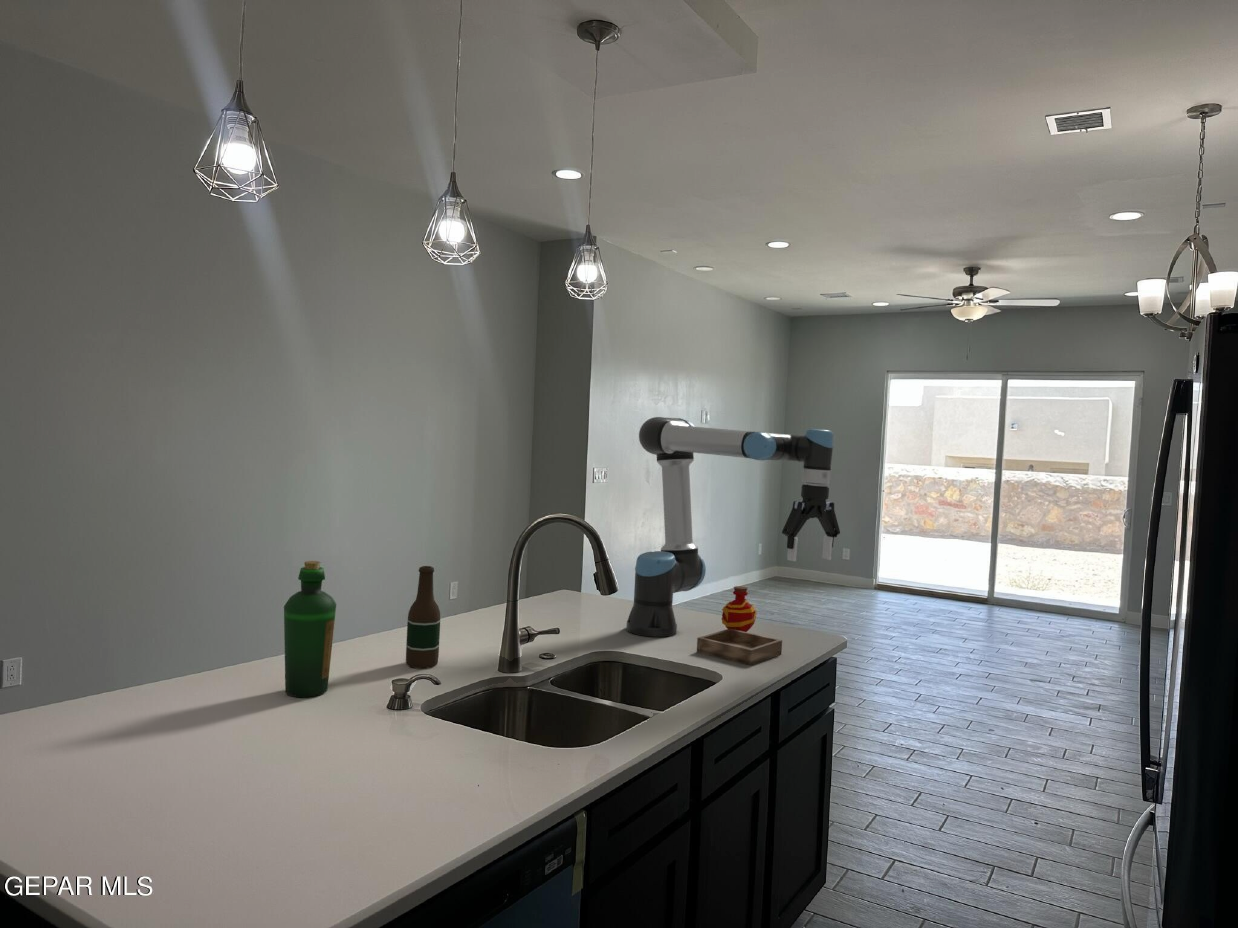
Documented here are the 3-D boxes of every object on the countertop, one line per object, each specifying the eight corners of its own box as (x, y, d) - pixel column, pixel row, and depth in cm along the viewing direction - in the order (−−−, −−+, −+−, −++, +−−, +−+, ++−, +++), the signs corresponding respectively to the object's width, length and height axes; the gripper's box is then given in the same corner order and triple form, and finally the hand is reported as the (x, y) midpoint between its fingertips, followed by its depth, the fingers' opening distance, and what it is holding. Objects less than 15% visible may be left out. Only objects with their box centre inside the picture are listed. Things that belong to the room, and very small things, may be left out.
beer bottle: (421, 658, 214) (426, 562, 213) (444, 664, 210) (449, 567, 209) (398, 664, 208) (403, 566, 207) (422, 670, 204) (427, 570, 203)
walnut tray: (696, 651, 236) (697, 637, 236) (728, 642, 249) (729, 628, 249) (750, 665, 226) (751, 650, 225) (781, 654, 239) (782, 640, 239)
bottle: (343, 691, 185) (349, 562, 184) (302, 703, 176) (308, 568, 175) (310, 681, 191) (315, 556, 190) (268, 692, 182) (274, 561, 180)
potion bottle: (757, 642, 251) (760, 591, 250) (722, 640, 251) (725, 589, 251) (752, 634, 261) (755, 585, 261) (718, 631, 262) (721, 583, 261)
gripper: (792, 485, 229) (785, 563, 231) (856, 486, 243) (850, 560, 244) (773, 482, 236) (766, 558, 237) (836, 484, 249) (830, 556, 250)
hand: (809, 559), depth 240 cm, fingers open, 13 cm apart
